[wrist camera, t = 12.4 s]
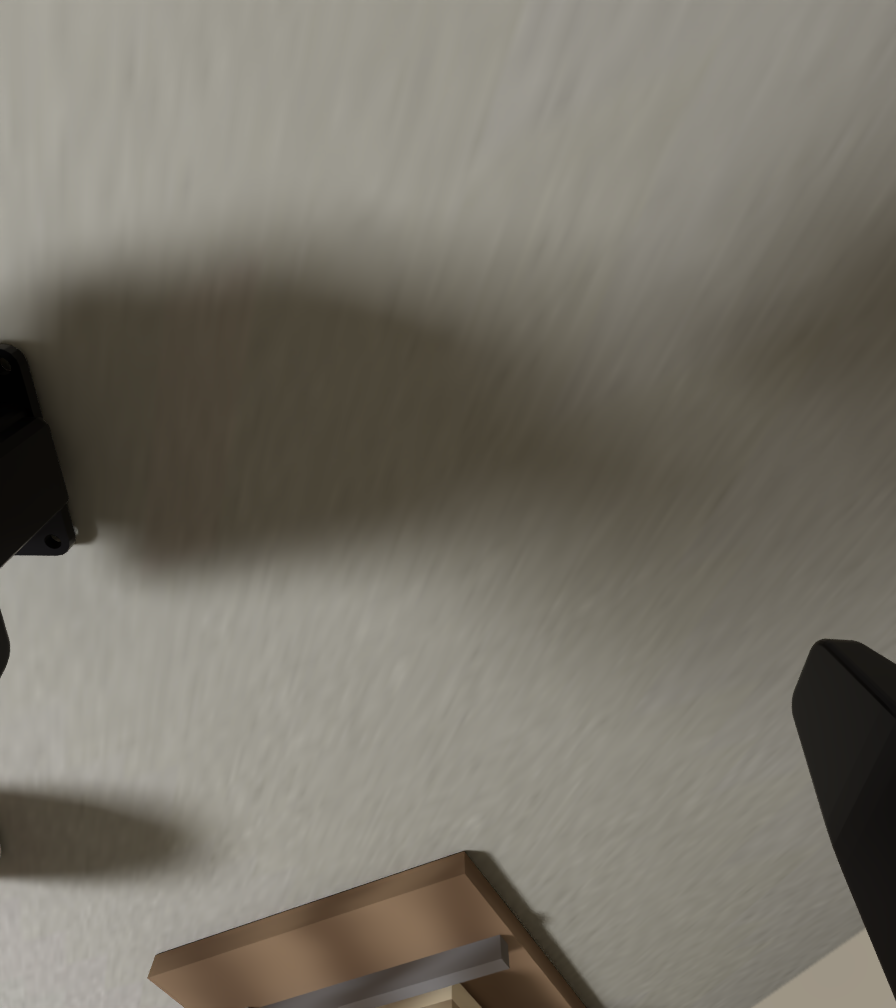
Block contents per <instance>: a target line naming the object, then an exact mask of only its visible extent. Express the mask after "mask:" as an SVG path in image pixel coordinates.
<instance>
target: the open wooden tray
mask: <svg viewBox="0 0 896 1008" xmlns="http://www.w3.org/2000/svg"><path fill="white" fill-rule="evenodd" d="M148 979H149V980H150V981H152V982H153V983H154V984H155V985H157V986H158V987H159V988H160V989H162V990H163V991H164V992H165V993H167V994H168V995H169V996H170V997H172V998H173V999H174V1000H176V1001H177V1002H178V1003H179V1004H181V1005H182V1006H183V1007H184V1008H376V1007H380V1006H383V1005H387V1004H390V1003H393V1002H397V1001H400V1000H404V999H407V998H411V997H414V996H418V995H421V994H424V993H428V992H431V991H435V990H438V989H442V988H445V987H448V986H452V985H455V984H459V983H460V984H461V985H462V986H463V987H464V988H465V990H466V991H467V992H468V993H469V994H470V995H471V996H472V997H473V998H474V1000H475V1001H476V1002H477V1003H478V1004H479V1005H480V1006H481V1007H482V1008H586V1007H585V1006H584V1004H583V1003H582V1002H581V1000H580V999H579V998H578V997H577V995H576V994H575V993H574V991H573V990H572V989H571V988H570V986H569V985H568V984H567V982H566V981H565V980H564V979H563V977H562V976H561V975H560V973H559V972H558V971H557V970H556V968H555V967H554V966H553V964H552V963H551V962H550V961H549V959H548V958H547V957H546V955H545V954H544V953H543V952H542V950H541V949H540V948H539V946H538V945H537V944H536V943H535V941H534V940H533V939H532V937H531V936H530V935H529V934H528V932H527V931H526V930H525V929H524V927H523V926H522V925H521V923H520V922H519V921H518V920H517V918H516V917H515V916H514V914H513V913H512V912H511V911H510V909H509V908H508V907H507V905H506V904H505V903H504V902H503V900H502V899H501V898H500V896H499V895H498V894H497V893H496V891H495V890H494V889H493V887H492V886H491V885H490V884H489V882H488V881H487V880H486V878H485V877H484V876H483V875H482V873H481V872H480V871H479V869H478V868H477V867H476V866H475V864H474V863H473V862H472V860H471V859H470V858H469V857H468V855H467V854H466V853H465V852H464V851H463V852H460V853H458V854H455V855H452V856H449V857H446V858H443V859H440V860H437V861H434V862H431V863H428V864H425V865H422V866H419V867H416V868H413V869H410V870H407V871H404V872H401V873H398V874H395V875H392V876H389V877H386V878H383V879H380V880H377V881H374V882H371V883H368V884H365V885H362V886H360V887H357V888H354V889H351V890H348V891H345V892H342V893H339V894H336V895H333V896H330V897H327V898H324V899H321V900H318V901H315V902H312V903H309V904H306V905H303V906H300V907H297V908H294V909H291V910H288V911H285V912H282V913H279V914H276V915H273V916H270V917H267V918H265V919H262V920H259V921H256V922H253V923H250V924H247V925H244V926H241V927H238V928H235V929H232V930H229V931H226V932H223V933H220V934H217V935H214V936H211V937H208V938H205V939H202V940H199V941H196V942H193V943H190V944H187V945H184V946H181V947H178V948H175V949H172V950H169V951H167V952H164V953H161V954H158V955H155V958H154V961H153V964H152V967H151V969H150V972H149V975H148Z"/></svg>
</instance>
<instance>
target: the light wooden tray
mask: <svg viewBox="0 0 896 1008" xmlns="http://www.w3.org/2000/svg"><path fill="white" fill-rule="evenodd" d="M376 1008H482V1007H481V1006H480V1005H479V1004H478V1003H477V1002H476V1001H475V1000H474V998H473V997H472V996H471V995H470V994H469V993H468V992H467V991H466V990H465V988H464V987H463V986H462V985H461V984H460V983H459V984H455V985H452V986H448V987H445V988H442V989H438V990H435V991H431V992H428V993H424V994H421V995H418V996H414V997H411V998H407V999H404V1000H400V1001H397V1002H393V1003H390V1004H387V1005H383V1006H380V1007H376Z"/></svg>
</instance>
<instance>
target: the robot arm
mask: <svg viewBox="0 0 896 1008" xmlns="http://www.w3.org/2000/svg"><path fill="white" fill-rule="evenodd" d="M0 357H1V358H4V359H5V360H7V361H8V362H9V364H10V366H11V371H9V370H6V369H5V368H4V367H2V365H1V363H0V568H1V567H2V566H3V565H4V564H5V563H6V562H7V561H8V560H9V559H10V558H12V557H13V556H14V555H42V556H58V555H63V554H65V553H66V552H67V551H68V550H69V549H70V548H71V547H72V546H73V545H74V543H75V541H76V539H75V532H74V529H73V525H72V521H71V518H70V514H69V510H68V507H67V502H68V500H69V498H68V494H67V490H66V486H65V483H64V479H63V475H62V472H61V468H60V464H59V461H58V457H57V453H56V450H55V446H54V442H53V439H52V435H51V431H50V428H49V425H48V424H47V423H46V422H45V421H44V419H43V416H42V413H41V409H40V405H39V402H38V398H37V394H36V391H35V387H34V384H33V380H32V376H31V373H30V369H29V366H28V362H27V360H26V358H25V356H24V354H23V353H22V352H21V351H20V350H19V349H17V348H15V347H14V346H12V345H7V344H0ZM51 535H55V536H57V537H58V538H59V539H60V540H61V542H58V541H56V540H54V539H53V538H52V536H51ZM9 655H10V641H9V637H8V634H7V630H6V627H5V623H4V620H3V616H2V613H1V610H0V678H1V676H2V674H3V672H4V670H5V668H6V665H7V663H8V659H9ZM792 713H793V718H794V721H795V725H796V728H797V731H798V735H799V738H800V741H801V745H802V748H803V752H804V755H805V758H806V762H807V765H808V768H809V772H810V775H811V778H812V782H813V785H814V788H815V792H816V795H817V799H818V802H819V805H820V809H821V812H822V815H823V819H824V822H825V825H826V828H827V831H828V834H829V837H830V840H831V843H832V846H833V849H834V851H835V854H836V857H837V859H838V862H839V864H840V867H841V869H842V872H843V874H844V877H845V879H846V882H847V884H848V886H849V889H850V891H851V894H852V896H853V898H854V901H855V903H856V906H857V908H858V911H859V913H860V915H861V918H862V920H863V923H864V925H865V927H866V930H867V932H868V935H869V937H870V940H871V942H872V944H873V947H874V949H875V951H876V954H877V956H878V959H879V961H880V964H881V966H882V969H883V971H884V973H885V976H886V978H887V981H888V983H889V985H890V988H891V990H892V992H893V995H894V997H895V1000H896V664H895V663H893V662H892V661H890V660H888V659H887V658H885V657H883V656H882V655H880V654H878V653H877V652H875V651H874V650H872V649H870V648H869V647H867V646H865V645H864V644H862V643H860V642H857V641H853V640H838V639H821V640H818V641H817V642H816V643H815V644H814V645H813V646H812V648H811V650H810V652H809V655H808V657H807V660H806V662H805V665H804V667H803V670H802V672H801V675H800V677H799V680H798V682H797V685H796V687H795V690H794V693H793V697H792Z"/></svg>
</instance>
